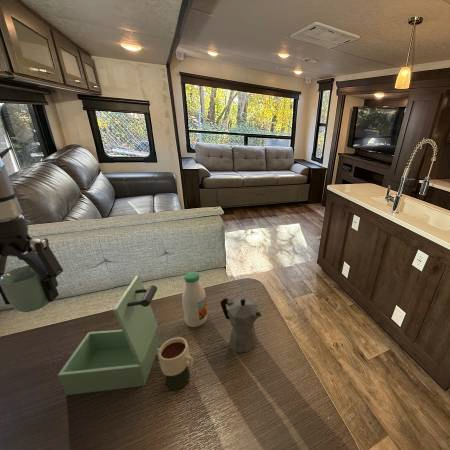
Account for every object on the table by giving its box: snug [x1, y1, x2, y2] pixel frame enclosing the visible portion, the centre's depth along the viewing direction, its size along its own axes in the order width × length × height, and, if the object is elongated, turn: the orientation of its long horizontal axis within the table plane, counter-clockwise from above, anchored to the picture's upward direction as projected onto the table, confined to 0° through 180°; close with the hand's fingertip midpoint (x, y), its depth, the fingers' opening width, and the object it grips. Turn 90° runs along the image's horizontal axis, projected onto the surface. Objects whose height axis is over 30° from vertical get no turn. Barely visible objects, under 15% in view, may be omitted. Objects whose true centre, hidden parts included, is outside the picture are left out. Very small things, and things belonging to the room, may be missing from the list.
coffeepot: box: [219, 297, 262, 353], centre depth 81 cm, size 15×9×18 cm, turn 67°
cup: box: [0, 265, 50, 313], centre depth 62 cm, size 8×8×10 cm
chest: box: [57, 328, 161, 396], centre depth 71 cm, size 19×14×8 cm
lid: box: [112, 274, 159, 366], centre depth 67 cm, size 19×14×6 cm
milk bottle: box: [181, 271, 208, 328], centre depth 87 cm, size 8×8×20 cm
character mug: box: [156, 337, 194, 391], centre depth 68 cm, size 11×7×13 cm, turn 77°
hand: (33, 299), depth 63 cm, fingers closed on cup, 8 cm apart
